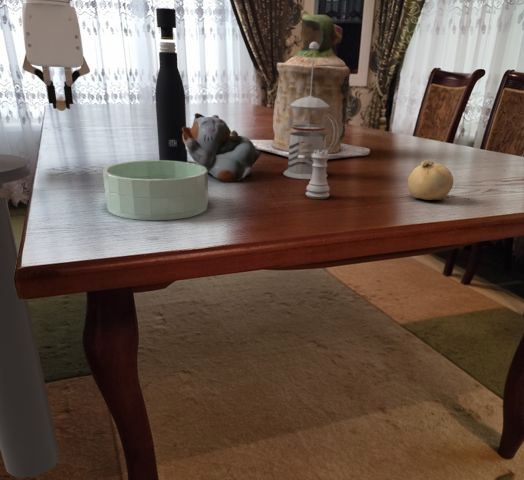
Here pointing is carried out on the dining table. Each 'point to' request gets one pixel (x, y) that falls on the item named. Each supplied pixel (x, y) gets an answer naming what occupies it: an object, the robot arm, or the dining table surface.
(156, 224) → the dining table surface
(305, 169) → the french press
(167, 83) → the black water bottle
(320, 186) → the rook chess piece
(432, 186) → the onion
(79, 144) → the dining table surface
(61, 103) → the stick
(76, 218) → the dining table surface
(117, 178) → the bowl
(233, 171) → the lucky cat figurine
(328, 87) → the cookie jar
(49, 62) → the robot arm
